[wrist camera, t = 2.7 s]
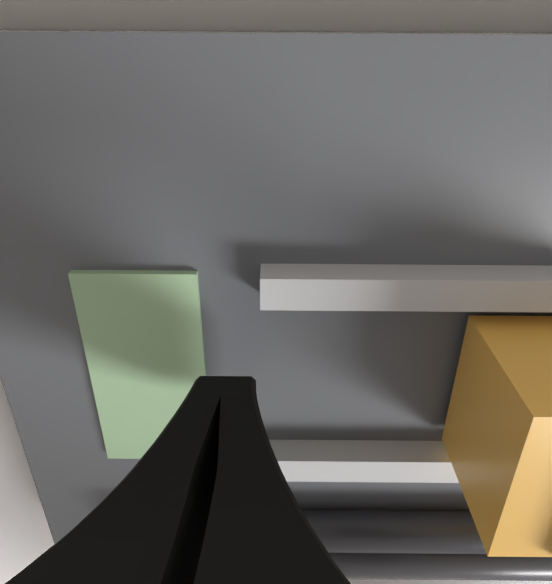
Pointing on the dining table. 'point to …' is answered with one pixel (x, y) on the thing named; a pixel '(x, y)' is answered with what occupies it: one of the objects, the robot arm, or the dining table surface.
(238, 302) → the grey base plate
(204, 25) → the dining table surface
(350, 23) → the dining table surface
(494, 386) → the switch
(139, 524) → the robot arm
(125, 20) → the dining table surface
